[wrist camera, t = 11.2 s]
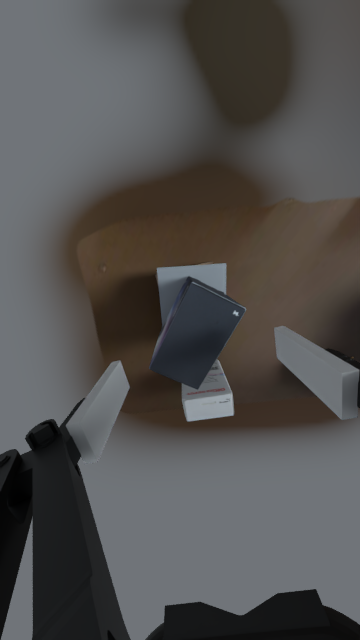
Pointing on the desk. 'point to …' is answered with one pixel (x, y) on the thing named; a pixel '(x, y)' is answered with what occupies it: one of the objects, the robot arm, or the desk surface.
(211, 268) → the grey slab
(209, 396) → the ink box
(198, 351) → the small box
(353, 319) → the desk surface
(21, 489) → the robot arm
